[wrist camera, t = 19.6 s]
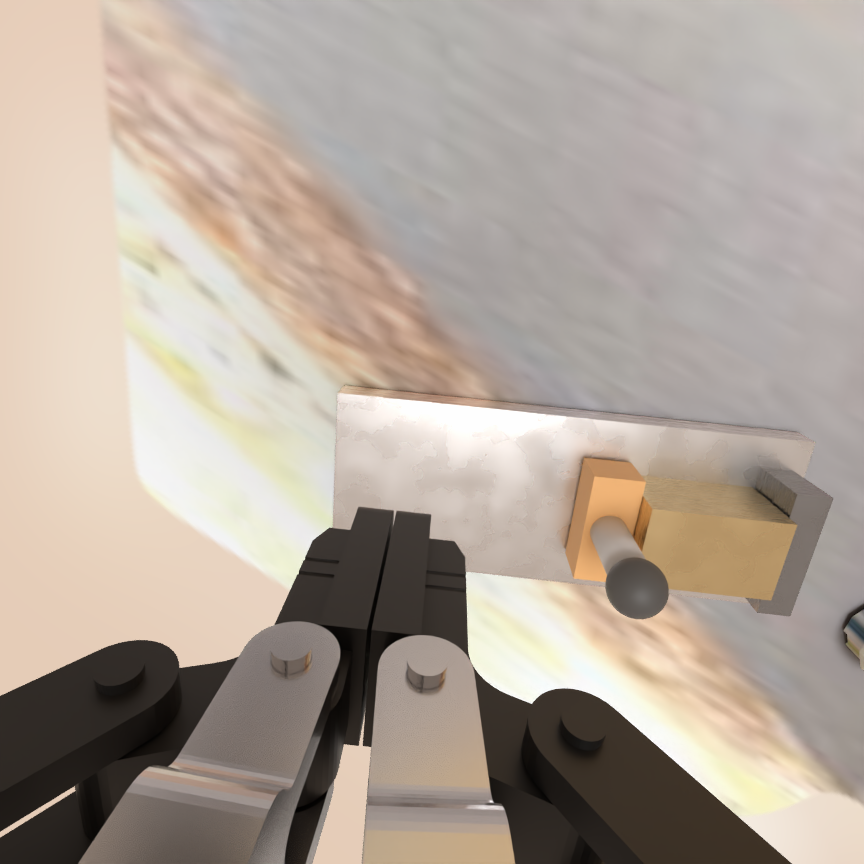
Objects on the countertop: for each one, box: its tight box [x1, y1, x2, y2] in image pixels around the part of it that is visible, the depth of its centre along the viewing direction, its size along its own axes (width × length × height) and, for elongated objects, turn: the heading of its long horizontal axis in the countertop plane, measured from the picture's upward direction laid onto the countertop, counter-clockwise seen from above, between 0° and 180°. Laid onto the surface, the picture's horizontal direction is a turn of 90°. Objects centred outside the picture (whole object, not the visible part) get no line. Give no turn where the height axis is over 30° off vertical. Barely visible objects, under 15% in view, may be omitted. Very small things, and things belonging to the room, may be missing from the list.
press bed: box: [333, 385, 833, 616], centre depth 35 cm, size 30×12×6 cm, turn 85°
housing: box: [633, 475, 797, 600], centre depth 33 cm, size 8×5×5 cm, turn 85°
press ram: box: [565, 458, 669, 619], centre depth 31 cm, size 3×7×10 cm, turn 175°
